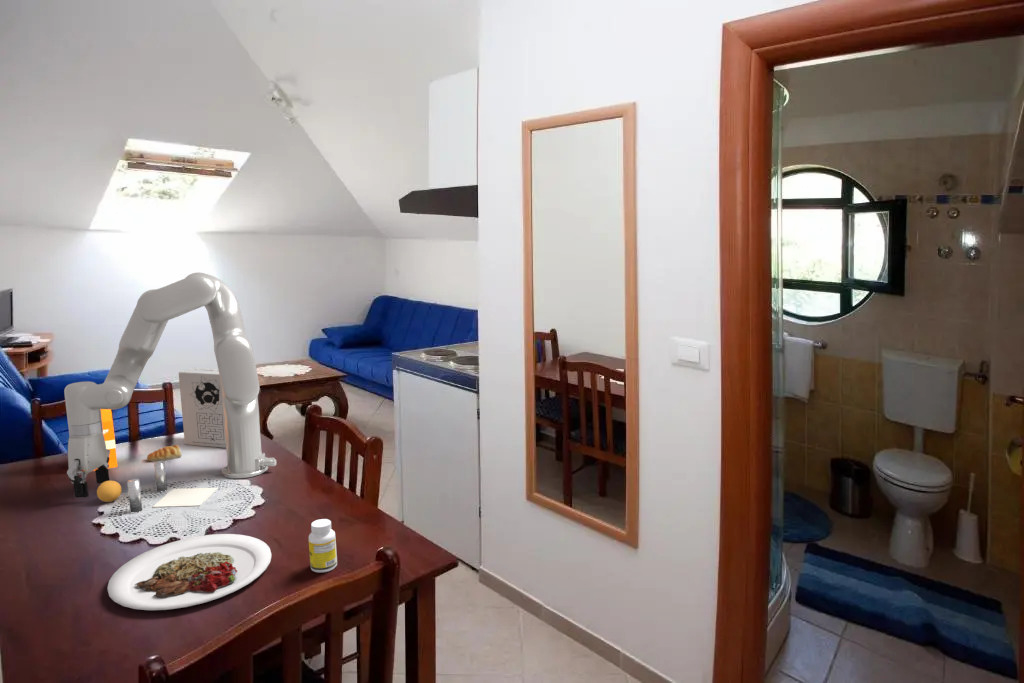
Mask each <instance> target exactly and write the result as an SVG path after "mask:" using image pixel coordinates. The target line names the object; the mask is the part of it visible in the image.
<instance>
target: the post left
mask: <svg viewBox="0 0 1024 683" xmlns="http://www.w3.org/2000/svg"><path fill="white" fill-rule="evenodd" d="M126 483H127V490H128V491H127V493H128V500H129V501H128V502H129V511H131V512H137V513H139V511H140V512H142V511H143V503H142V495H141V483H140V479H139V478H132V479H129V480H127V482H126ZM131 512H130V513H131Z"/></svg>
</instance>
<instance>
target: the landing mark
mask: <svg viewBox="0 0 1024 683" xmlns="http://www.w3.org/2000/svg"><path fill="white" fill-rule="evenodd" d="M218 489H219V487H194V488H193V487H191V488H172V489H171V490H170V491H169V492H167V493H166V494H165V495H164V496H163V497H162V498H161V499H160V500H158V501H157V502H156V503H154V505H152V506H151V508H178V507H185V508H187V507H201V506H202V505H203V504H204V503H205V502H206V501H207V500H208V499H209V498H210V497H211V496H212V495H213V494H214V493H215V492H216V491H218ZM204 501H205V502H204ZM203 502H204V503H203ZM202 503H203V504H202ZM201 504H202V505H201ZM200 505H201V506H200Z"/></svg>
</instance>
